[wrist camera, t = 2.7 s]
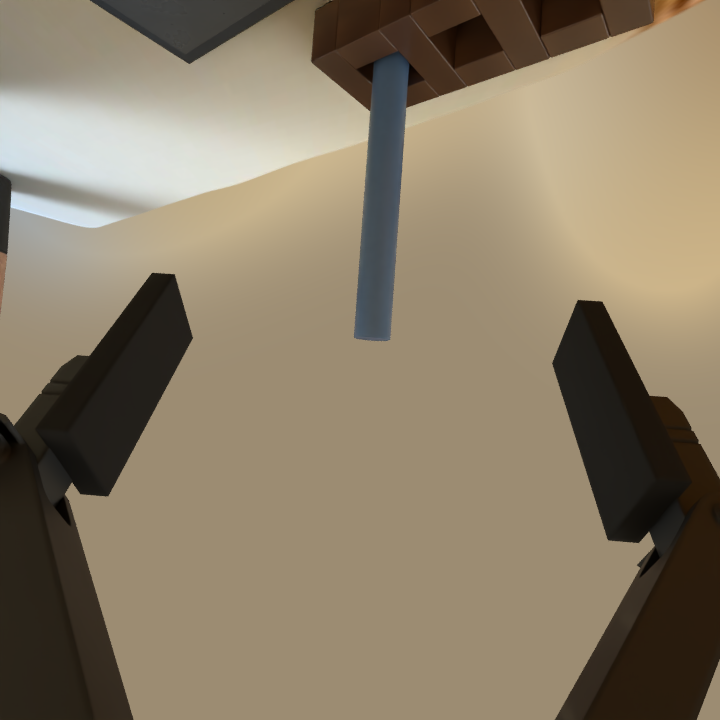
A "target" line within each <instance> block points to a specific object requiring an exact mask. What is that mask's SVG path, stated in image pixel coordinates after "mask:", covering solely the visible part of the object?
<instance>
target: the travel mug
mask: <svg viewBox="0 0 720 720" xmlns="http://www.w3.org/2000/svg"><path fill="white" fill-rule="evenodd" d="M10 203H11V182H10V181H9V180H8V179H7V178H5V177H4V176H2V175H0V312H1V303H2V295H3V285H4V277H5V269H6V261H7V249H8V233H9V219H10Z"/></svg>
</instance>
